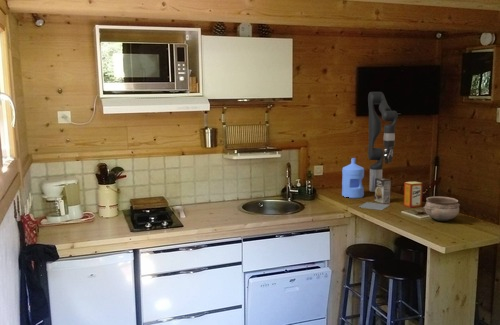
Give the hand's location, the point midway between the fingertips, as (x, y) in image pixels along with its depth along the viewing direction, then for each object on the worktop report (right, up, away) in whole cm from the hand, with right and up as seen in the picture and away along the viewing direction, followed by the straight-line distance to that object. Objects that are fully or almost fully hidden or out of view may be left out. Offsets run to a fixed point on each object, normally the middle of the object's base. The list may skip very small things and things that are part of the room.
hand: (388, 162), depth 329 cm
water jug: (-22, -25, +13) cm, 36 cm away
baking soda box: (+11, -29, -18) cm, 36 cm away
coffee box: (-6, -27, -5) cm, 28 cm away
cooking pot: (+16, -34, -52) cm, 64 cm away
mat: (-15, -29, -18) cm, 37 cm away
